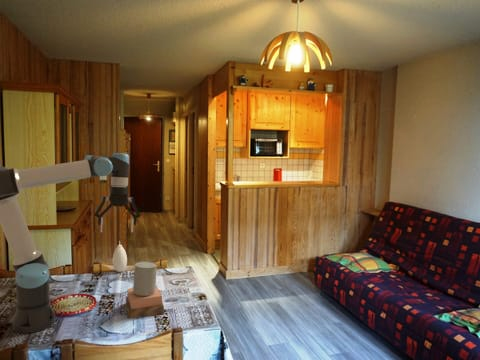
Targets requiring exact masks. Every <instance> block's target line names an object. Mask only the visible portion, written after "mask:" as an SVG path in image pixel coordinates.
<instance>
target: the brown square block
mask: <svg viewBox="0 0 480 360" xmlns="http://www.w3.org/2000/svg"><path fill="white" fill-rule="evenodd" d="M133 288H134V287H131V288H127V290H126V291H127V294H126V296H127V298H128V301H129V304H130V307H131V310H132V309H138V308H144V307H150V306H156V305H162V303H163V295H162V294H161V291H160V290H159V288H158V286H157V285H156V284H155V293H154V294H152V295H148V296H140V295H136V294H134V293H133Z"/></svg>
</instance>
